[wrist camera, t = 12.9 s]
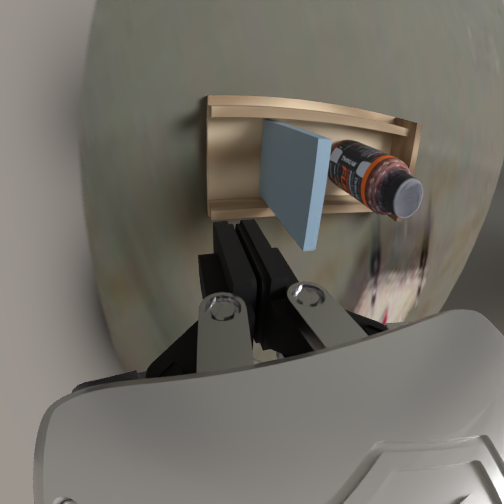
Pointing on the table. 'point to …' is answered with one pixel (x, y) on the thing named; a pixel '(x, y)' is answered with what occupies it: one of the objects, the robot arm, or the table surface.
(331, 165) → the supplement bottle
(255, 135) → the lane tray
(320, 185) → the pusher plate
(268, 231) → the table surface
